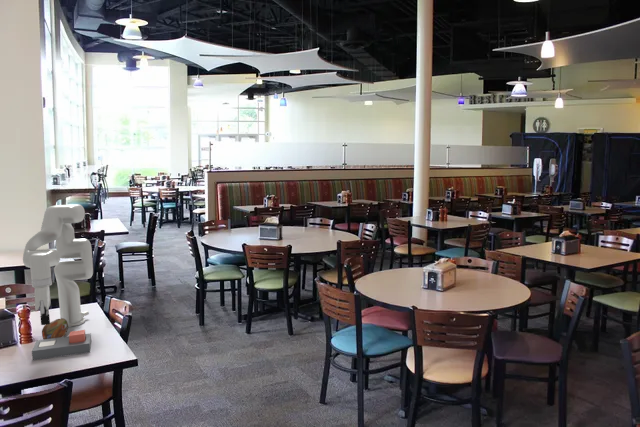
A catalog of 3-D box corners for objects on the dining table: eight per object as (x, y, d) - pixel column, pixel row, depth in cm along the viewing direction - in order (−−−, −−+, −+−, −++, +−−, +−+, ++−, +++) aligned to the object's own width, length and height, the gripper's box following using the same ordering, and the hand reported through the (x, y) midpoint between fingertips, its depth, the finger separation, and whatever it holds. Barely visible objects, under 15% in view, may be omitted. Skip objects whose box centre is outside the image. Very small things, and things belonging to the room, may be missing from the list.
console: (91, 341, 246) (91, 333, 246) (90, 352, 233) (89, 343, 233) (37, 349, 239) (36, 340, 238) (32, 360, 226) (31, 351, 225)
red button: (85, 338, 241) (85, 329, 241) (84, 342, 236) (84, 333, 235) (70, 340, 239) (70, 331, 239) (69, 344, 234) (68, 335, 233)
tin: (47, 344, 244) (45, 326, 243) (41, 344, 245) (39, 326, 244) (69, 333, 259) (67, 316, 258) (63, 333, 260) (61, 316, 259)
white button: (56, 349, 238) (55, 340, 237) (54, 353, 232) (54, 344, 232) (41, 351, 236) (40, 342, 235) (39, 356, 230) (38, 346, 230)
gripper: (34, 279, 236) (38, 320, 238) (29, 287, 222) (33, 330, 224) (53, 277, 239) (57, 318, 241) (49, 285, 225) (53, 328, 227)
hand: (45, 324), depth 233 cm, fingers closed
